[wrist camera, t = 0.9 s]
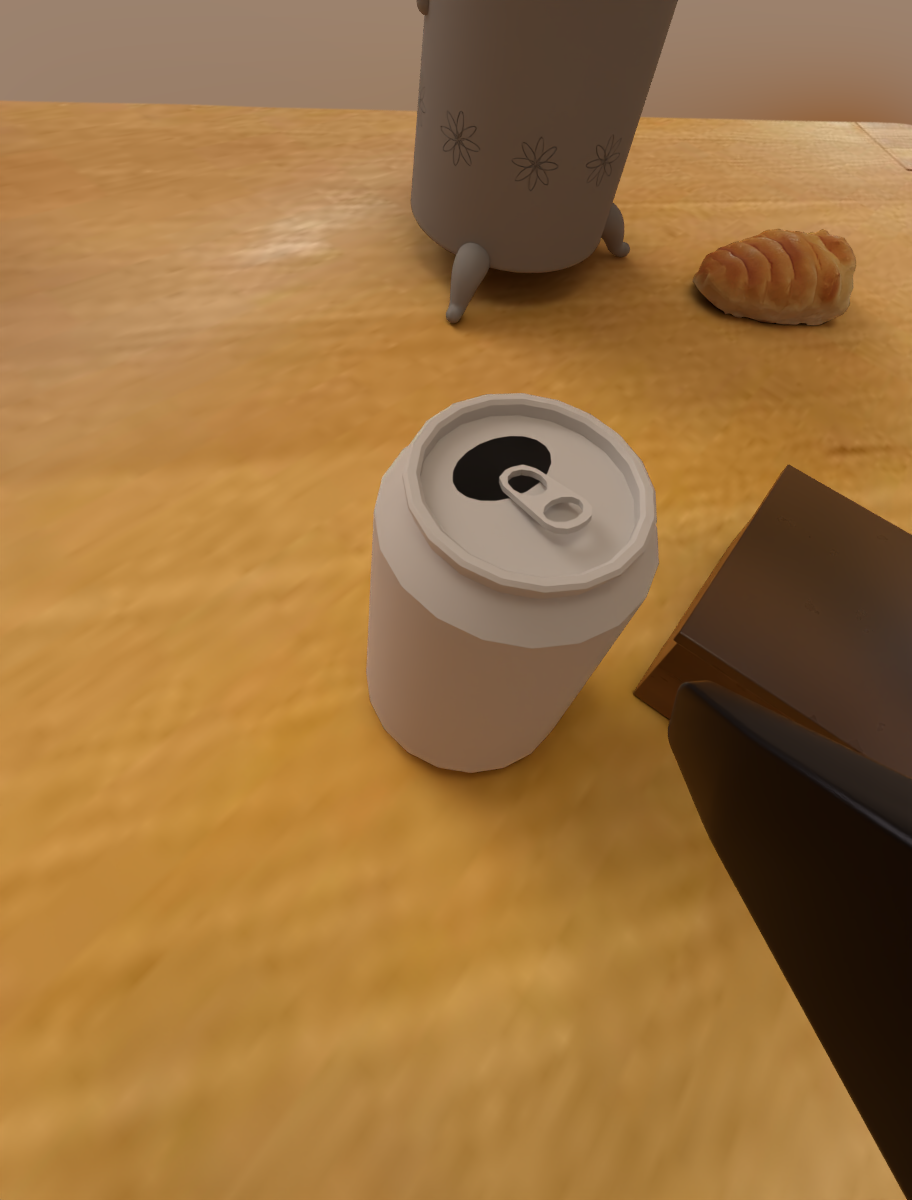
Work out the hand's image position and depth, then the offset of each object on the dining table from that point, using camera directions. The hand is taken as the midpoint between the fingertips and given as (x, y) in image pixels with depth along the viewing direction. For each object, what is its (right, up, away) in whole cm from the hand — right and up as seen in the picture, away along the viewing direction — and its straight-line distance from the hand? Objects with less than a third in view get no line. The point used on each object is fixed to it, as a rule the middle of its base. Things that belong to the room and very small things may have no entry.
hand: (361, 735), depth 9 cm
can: (+1, -2, +17) cm, 18 cm away
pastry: (+21, +21, +35) cm, 46 cm away
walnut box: (+14, -1, +20) cm, 24 cm away
